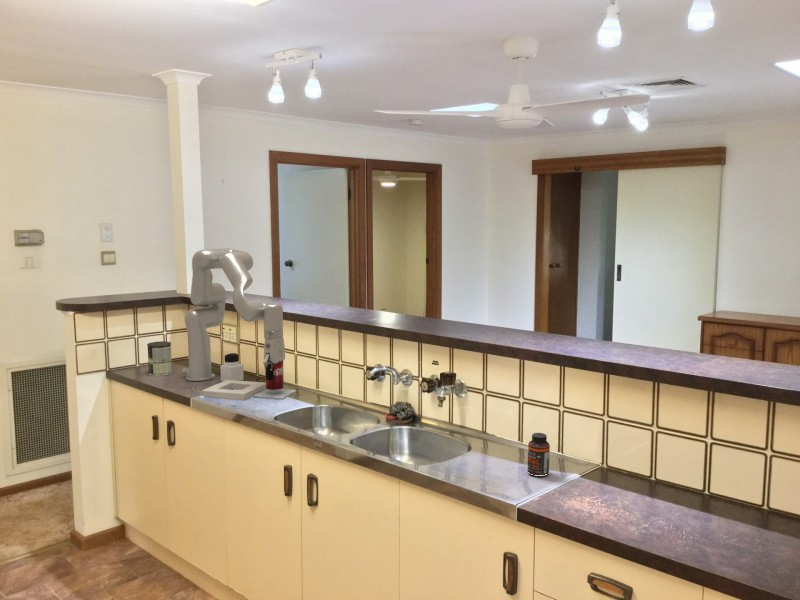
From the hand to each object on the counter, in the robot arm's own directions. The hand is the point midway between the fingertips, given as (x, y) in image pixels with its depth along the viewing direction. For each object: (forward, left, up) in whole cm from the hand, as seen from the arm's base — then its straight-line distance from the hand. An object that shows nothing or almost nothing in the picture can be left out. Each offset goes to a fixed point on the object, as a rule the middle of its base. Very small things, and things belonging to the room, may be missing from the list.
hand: (274, 377), depth 273 cm
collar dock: (-17, -2, -7) cm, 18 cm away
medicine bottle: (-29, +16, -7) cm, 34 cm away
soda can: (0, 0, -5) cm, 5 cm away
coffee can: (-68, +19, -7) cm, 71 cm away
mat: (0, 0, -7) cm, 7 cm away
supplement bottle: (+110, -57, -7) cm, 124 cm away
